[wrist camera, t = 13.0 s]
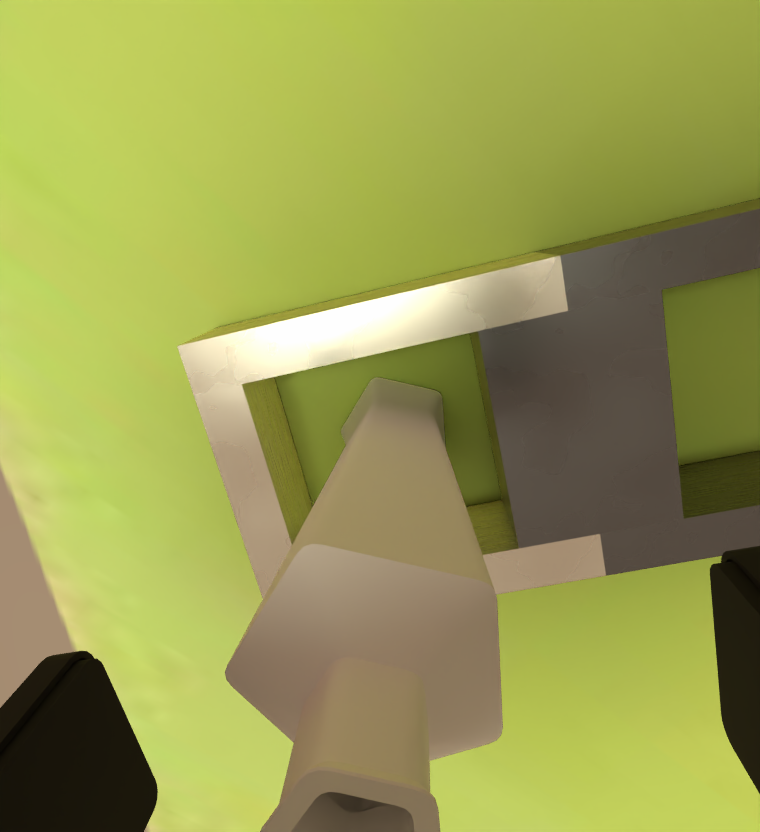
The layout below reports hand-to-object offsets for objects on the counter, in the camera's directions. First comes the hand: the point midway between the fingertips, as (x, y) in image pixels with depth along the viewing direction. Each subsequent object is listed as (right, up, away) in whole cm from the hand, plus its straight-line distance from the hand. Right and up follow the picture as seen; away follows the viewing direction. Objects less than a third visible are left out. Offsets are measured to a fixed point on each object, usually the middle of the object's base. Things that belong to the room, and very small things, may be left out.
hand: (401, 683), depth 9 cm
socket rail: (+6, +5, +11) cm, 14 cm away
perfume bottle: (0, +4, +12) cm, 13 cm away
